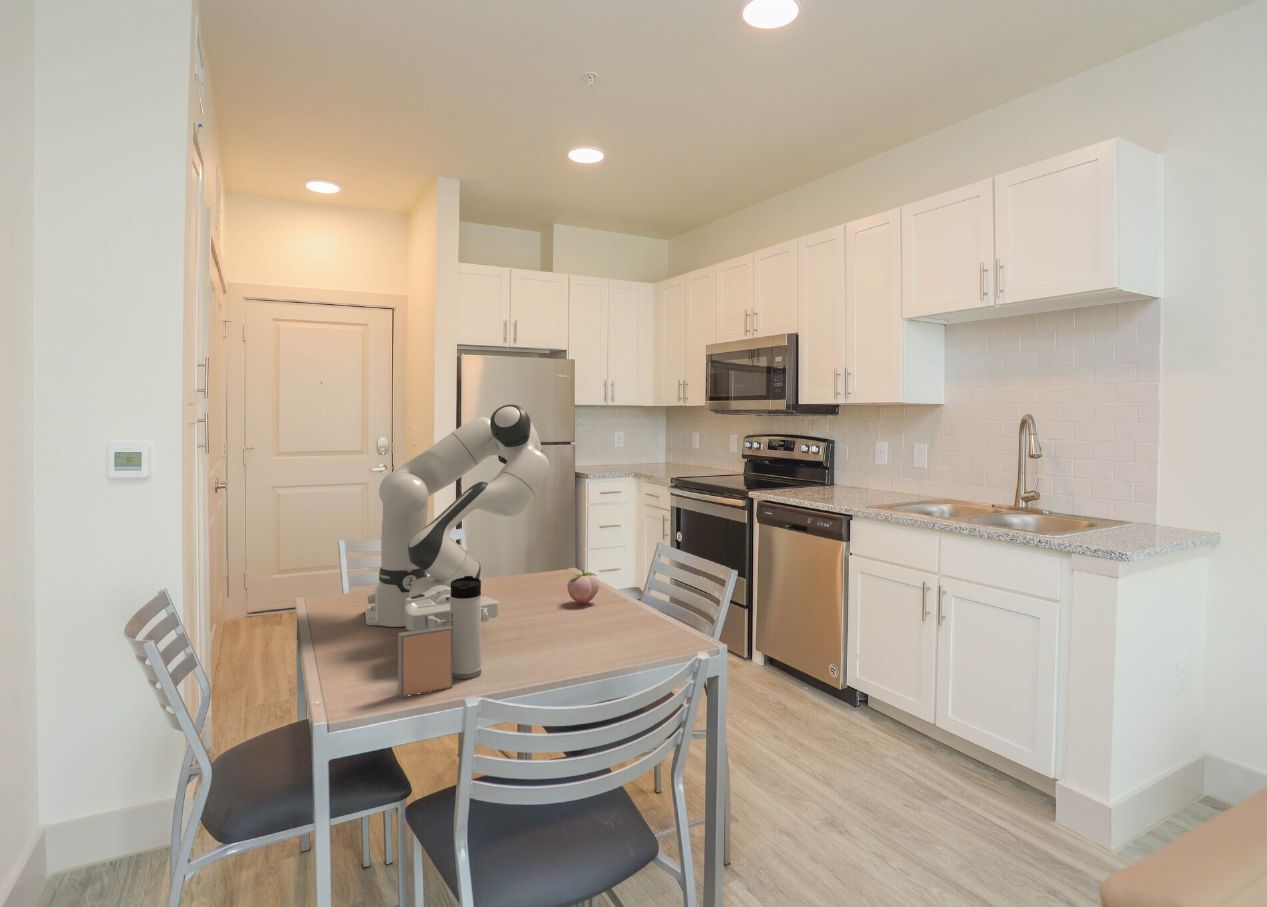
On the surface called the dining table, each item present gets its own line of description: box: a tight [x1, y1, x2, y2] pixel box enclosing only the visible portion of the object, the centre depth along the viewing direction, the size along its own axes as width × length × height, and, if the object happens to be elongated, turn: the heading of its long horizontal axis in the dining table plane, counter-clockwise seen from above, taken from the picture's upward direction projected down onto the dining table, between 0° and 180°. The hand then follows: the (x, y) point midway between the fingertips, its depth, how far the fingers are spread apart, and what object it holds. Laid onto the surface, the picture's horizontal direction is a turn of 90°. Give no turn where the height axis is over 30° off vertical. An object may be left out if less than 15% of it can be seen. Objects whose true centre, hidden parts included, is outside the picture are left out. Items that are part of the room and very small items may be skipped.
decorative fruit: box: [567, 569, 600, 605], centre depth 207 cm, size 9×8×10 cm
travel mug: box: [450, 576, 482, 680], centre depth 150 cm, size 6×7×20 cm
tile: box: [397, 626, 453, 698], centre depth 141 cm, size 2×10×12 cm, turn 123°
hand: (464, 621), depth 152 cm, fingers open, 8 cm apart
